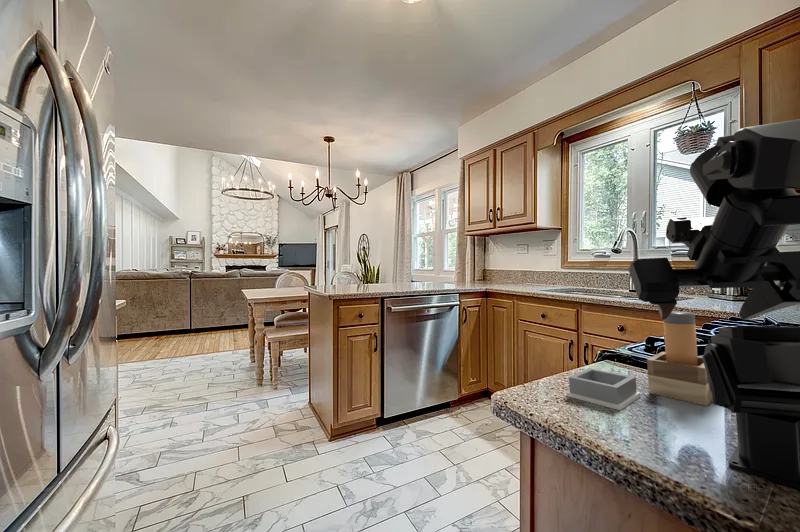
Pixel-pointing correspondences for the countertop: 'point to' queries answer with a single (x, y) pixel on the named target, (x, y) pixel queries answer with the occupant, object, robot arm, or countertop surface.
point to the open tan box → (678, 380)
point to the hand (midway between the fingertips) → (700, 316)
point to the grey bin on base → (603, 388)
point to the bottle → (680, 338)
